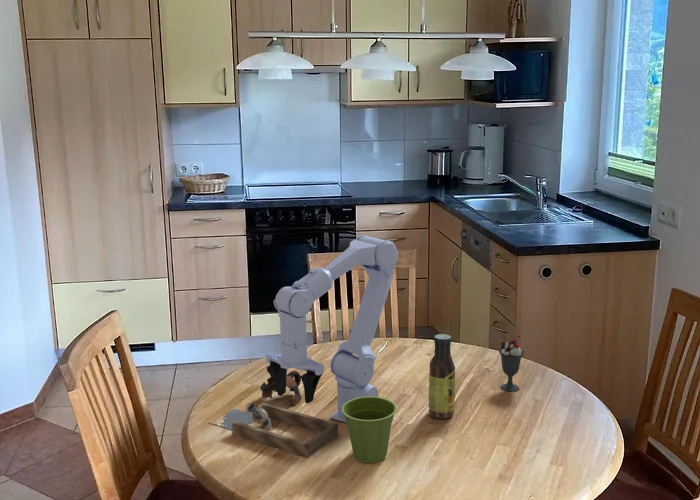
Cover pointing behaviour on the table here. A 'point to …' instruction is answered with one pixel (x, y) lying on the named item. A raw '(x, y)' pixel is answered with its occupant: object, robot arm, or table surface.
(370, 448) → the plant pot
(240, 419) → the slate coaster
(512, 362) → the sundae
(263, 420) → the vase
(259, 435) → the walnut tray
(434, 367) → the sauce bottle
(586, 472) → the table surface
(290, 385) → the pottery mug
